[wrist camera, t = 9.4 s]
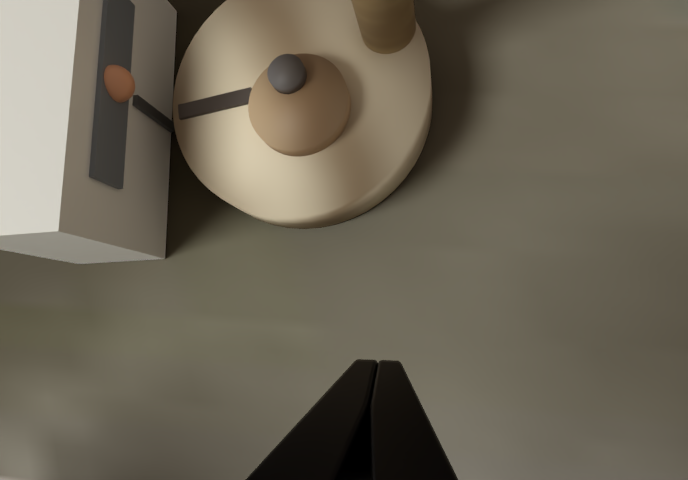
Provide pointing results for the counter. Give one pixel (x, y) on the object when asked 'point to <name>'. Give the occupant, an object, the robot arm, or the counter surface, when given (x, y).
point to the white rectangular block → (86, 128)
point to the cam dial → (304, 106)
